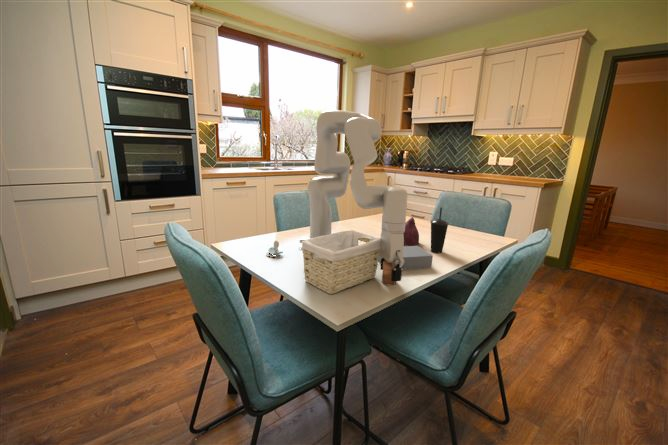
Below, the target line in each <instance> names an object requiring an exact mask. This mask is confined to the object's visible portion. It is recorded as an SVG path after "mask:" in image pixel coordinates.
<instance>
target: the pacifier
mask: <svg viewBox="0 0 668 445" xmlns="http://www.w3.org/2000/svg"><path fill="white" fill-rule="evenodd" d="M279 246H280V243H279V241H278V240H275V241H273V247H270V248H268V252H266V254H267V255H268V256H270V257H269V258H272V257H275V258H278V257H279V256H280V254H283V253H284V251H280V250H279ZM268 253H270V254H268ZM272 254H273V255H276V256H273V255H272ZM267 255H266V256H267ZM278 255H279V256H278ZM268 256H267V257H268ZM277 256H278V257H277Z"/></svg>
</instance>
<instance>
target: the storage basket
mask: <svg viewBox="0 0 668 445" xmlns="http://www.w3.org/2000/svg"><path fill="white" fill-rule="evenodd" d="M380 238H381V237H376V236H373V235H371V234H367V233H363V232H359V231H356V230H345V231H340V232H339V231H338V232H335V233H331V234H329V235H324V236H319V237H314V238H311V239H307V238H306V239H307V240H304V241H303V243H301V248H302V257H303V271H304V272H303V274H304V280H305V281H306V282H307V283H309V284H310V285H312V286H314V287H316V288H317V289H319V290H322V291H323V292H326V293H328V294H329V295H333V294H337V293H340V292H341V291H343V290H347V289H349V288H351V287H355V286H357V285H359V284H362V283H364V282H366V281H368V280H371V279H374V278H375V277H376V276H377V275H376V274H377V268H378V265H379V261H378V259H379V254H380V253H379V252H380V248H381V239H380ZM359 241H360V242H363V243H362V244H359Z"/></svg>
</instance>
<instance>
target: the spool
mask: <svg viewBox="0 0 668 445" xmlns="http://www.w3.org/2000/svg"><path fill="white" fill-rule="evenodd" d="M397 264H398V263H395V266H396V265H397ZM392 269H393V266H392V262H391V263H388V262H387V261H386V260H385V261H383V270H382V274H381V282H382V284H384V285H386V286H395V285H397V284H398V283H397V282H398V281H391V275H392Z"/></svg>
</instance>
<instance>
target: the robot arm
mask: <svg viewBox="0 0 668 445" xmlns="http://www.w3.org/2000/svg"><path fill="white" fill-rule="evenodd" d="M336 134H337V135H338V134H339V135H345V138H346V141H347V142H346V143H347V144H348V147H349V151H350V153H351V156H352V158H353V163H354V164H353V166H352V168H351V160H350V158H349V155H348V154H347V153H345V152H342V151H338V145H339V144H338V143H339V142H338V138H337V135H336ZM382 134H383V130H382V126H381V123H380V122H379V121H378V120H377V118H373V117H371V116H368V115H365V114H363V113H360V112H356V111H350V110H349V111H348V110H340V109H328V110H323V111H322V112H321V113H320V114H319V115H318V118H317V120H316V146H315V147H316V148H315V154H314V171H315V172H316V173H317V174H319V175H327V176H316V177H313V178H311V179H310V180H309V181H308V184H307V191H308V197H309V212H310V213H309V235H308V237H306V238H299V243H300V244H302V243H303V241H304V240H307V239H311V238H314V237H319V236H324V235H329V234H332V217H333V216H332V214H333V213H332V206H331V204H330V202H329V201H328V199H335V198H336V199H337V198H341V197H343V196H344V195H345V194H346V191H347V189H348V183H349V185H350V190H351V192H352V196H353V198H354V201H355V202H356V204H357V206H358V207H359V208H361V209H363V210H364V209H365V210H370V209H377V208H382V216H381V217H382V218H381V233H380V237H379V238H380V239H381V248H380V252H379V253H380V255H381V264H380V268H379V269H380V270H381V271H383V261H385V260H386V261H387V262H388V263H391V262H392V266H393V269H392V275H391V281H397V282H401V281H402V271H403V270H402V268H403V264H404V259H403V252H404V246H405V245H404V234H403V233H404V232H405V223H406V222H407V221H406V219H407V209H408V208H407V205H408V191H407V190H406V189H404V188H400V187H399V188H398V187H393V186H392V185H391V186H390V185H387V184H379V185H378V184H377V185H368V184H367V182H366V181H367V180H366V178H365V168H366V167H367V166H369V165H372V164H373V163H374V162H375V161H376V160H377V158H378V152H377V149H376V146H375V144H374V143H376V142H378V141H379V140H380V139H381V137H382ZM328 175H330V176H328ZM331 175H333V176H331ZM395 259H397V260H395ZM395 263H398V264H397V265H396V266H395Z"/></svg>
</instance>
